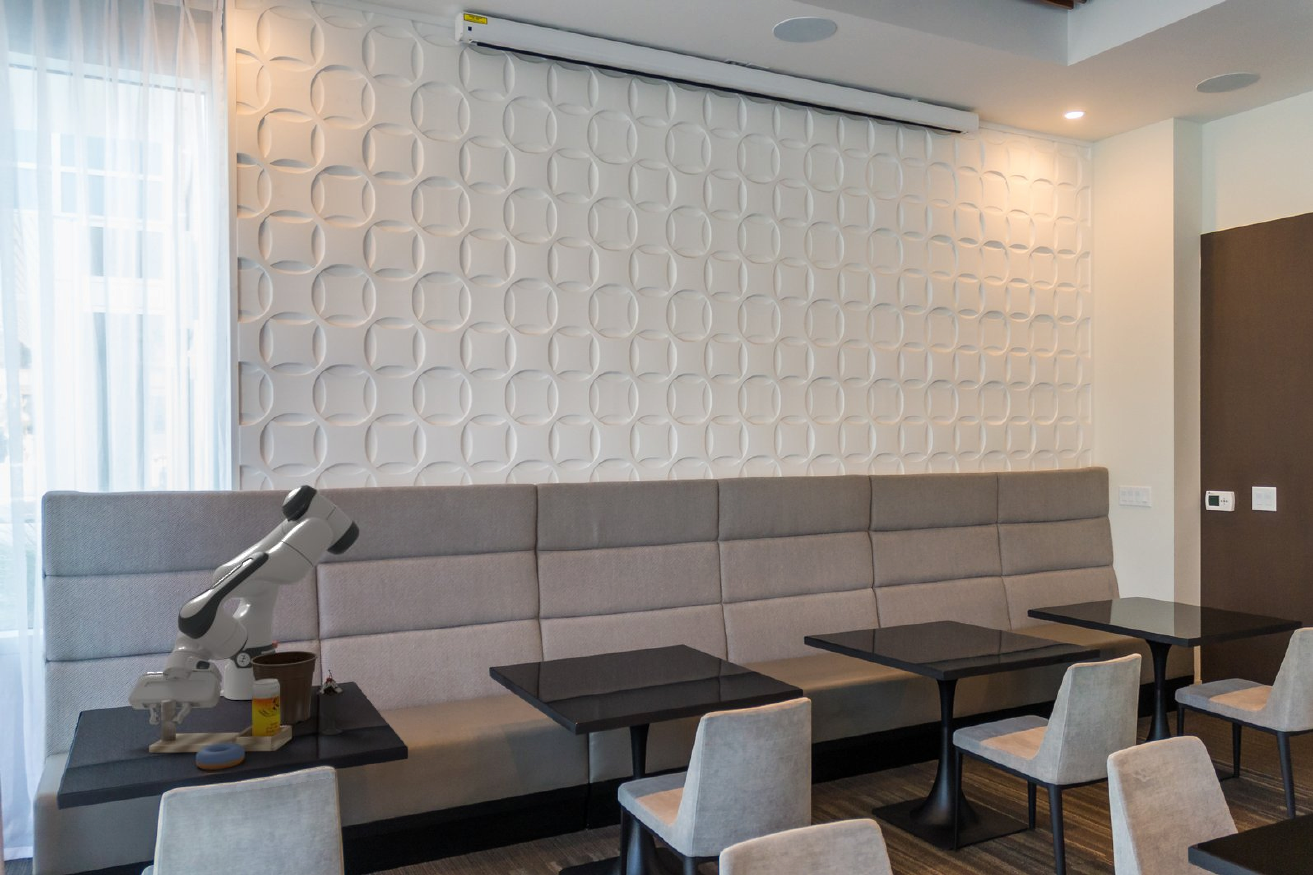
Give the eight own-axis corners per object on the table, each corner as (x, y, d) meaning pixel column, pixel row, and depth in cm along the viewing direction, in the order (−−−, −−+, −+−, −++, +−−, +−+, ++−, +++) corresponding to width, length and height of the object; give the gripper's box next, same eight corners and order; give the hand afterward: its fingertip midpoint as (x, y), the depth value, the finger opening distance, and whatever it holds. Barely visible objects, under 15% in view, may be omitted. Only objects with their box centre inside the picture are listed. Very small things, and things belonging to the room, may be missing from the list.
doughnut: (207, 773, 210) (209, 751, 211) (186, 767, 217) (188, 745, 217) (252, 766, 218) (253, 745, 218) (231, 760, 224) (232, 739, 225)
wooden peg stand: (149, 752, 226) (148, 706, 226) (170, 739, 236) (170, 695, 236) (275, 750, 226) (274, 704, 226) (291, 738, 236) (291, 694, 236)
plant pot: (319, 724, 248) (319, 660, 249) (250, 732, 243) (249, 666, 243) (316, 709, 264) (316, 648, 264) (251, 716, 258) (250, 654, 258)
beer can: (270, 749, 227) (270, 684, 228) (247, 748, 229) (246, 683, 229) (285, 742, 233) (284, 678, 234) (262, 741, 235) (261, 677, 235)
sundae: (331, 727, 245) (330, 667, 246) (351, 730, 242) (350, 669, 243) (311, 734, 240) (310, 672, 240) (331, 737, 237) (330, 675, 237)
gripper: (136, 665, 238) (114, 716, 228) (221, 663, 238) (203, 714, 228) (145, 679, 243) (125, 730, 233) (229, 677, 243) (212, 728, 233)
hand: (164, 722), depth 231 cm, fingers open, 4 cm apart
